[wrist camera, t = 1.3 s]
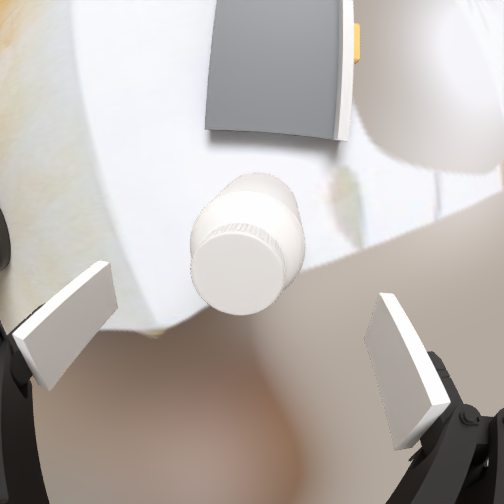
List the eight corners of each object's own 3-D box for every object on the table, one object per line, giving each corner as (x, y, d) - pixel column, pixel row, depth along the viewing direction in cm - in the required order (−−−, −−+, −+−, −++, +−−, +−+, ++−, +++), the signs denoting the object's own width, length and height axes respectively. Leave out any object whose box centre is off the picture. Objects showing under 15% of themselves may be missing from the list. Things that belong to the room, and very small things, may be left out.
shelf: (209, 130, 26) (198, 128, 22) (225, -26, 18) (218, -43, 15) (345, 142, 25) (355, 142, 22) (348, -17, 18) (356, -33, 14)
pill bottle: (211, 230, 30) (157, 306, 16) (235, 160, 27) (188, 181, 13) (279, 255, 31) (277, 349, 17) (309, 188, 28) (337, 237, 14)
